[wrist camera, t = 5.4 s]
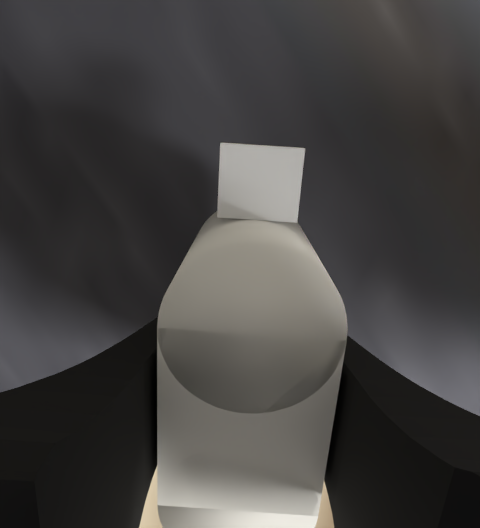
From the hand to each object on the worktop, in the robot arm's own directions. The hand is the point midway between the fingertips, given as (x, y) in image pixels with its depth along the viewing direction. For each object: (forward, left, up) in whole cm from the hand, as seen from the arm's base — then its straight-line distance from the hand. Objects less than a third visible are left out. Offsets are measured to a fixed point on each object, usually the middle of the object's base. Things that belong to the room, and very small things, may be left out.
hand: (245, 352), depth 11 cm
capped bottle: (0, 0, -2) cm, 2 cm away
